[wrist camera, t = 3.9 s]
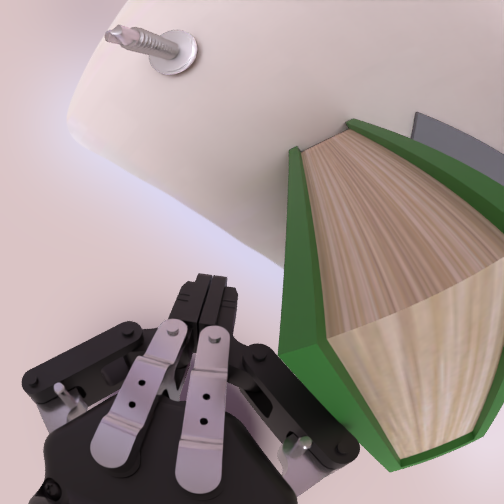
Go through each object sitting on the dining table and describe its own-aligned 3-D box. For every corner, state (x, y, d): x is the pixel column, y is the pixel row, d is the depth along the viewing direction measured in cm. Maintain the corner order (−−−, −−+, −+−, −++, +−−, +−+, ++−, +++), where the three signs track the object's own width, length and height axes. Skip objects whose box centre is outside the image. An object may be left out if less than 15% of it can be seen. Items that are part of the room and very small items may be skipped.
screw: (149, 64, 22) (174, 27, 19) (185, 83, 23) (211, 45, 21) (68, 55, 11) (105, -7, 8) (117, 78, 12) (161, 9, 10)
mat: (524, 168, 22) (526, 169, 21) (467, 302, 34) (469, 304, 34) (416, 111, 22) (418, 112, 21) (361, 293, 35) (362, 296, 34)
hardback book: (289, 149, 26) (277, 355, 6) (353, 118, 23) (554, 223, 3) (355, 277, 33) (389, 472, 13) (407, 254, 30) (483, 436, 10)
